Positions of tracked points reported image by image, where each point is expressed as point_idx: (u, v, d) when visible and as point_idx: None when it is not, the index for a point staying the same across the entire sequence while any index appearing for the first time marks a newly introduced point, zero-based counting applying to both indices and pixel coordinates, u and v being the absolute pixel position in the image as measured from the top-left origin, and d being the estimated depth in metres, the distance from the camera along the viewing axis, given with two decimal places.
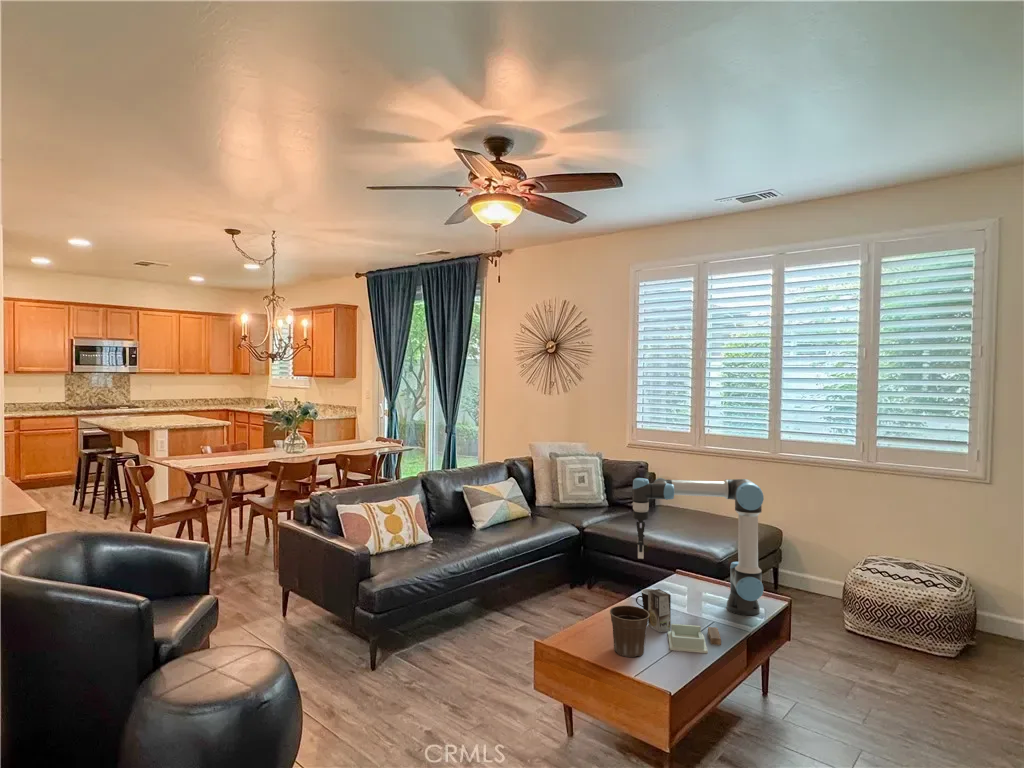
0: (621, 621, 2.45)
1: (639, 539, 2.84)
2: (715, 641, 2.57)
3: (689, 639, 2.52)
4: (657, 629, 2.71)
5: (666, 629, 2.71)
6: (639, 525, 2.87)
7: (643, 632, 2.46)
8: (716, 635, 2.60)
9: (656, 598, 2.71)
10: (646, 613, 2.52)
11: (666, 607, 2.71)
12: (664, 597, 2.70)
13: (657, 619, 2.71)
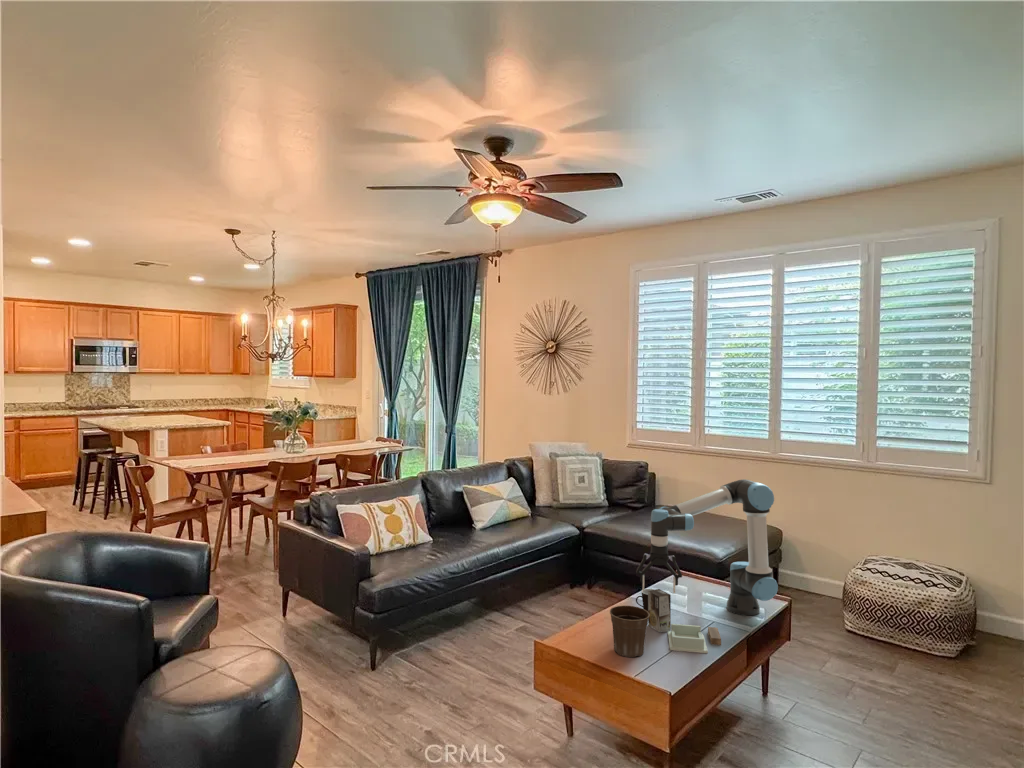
0: (621, 621, 2.45)
1: None
2: (715, 641, 2.57)
3: (689, 639, 2.52)
4: (657, 629, 2.71)
5: (666, 629, 2.71)
6: None
7: (643, 632, 2.46)
8: (716, 635, 2.60)
9: (656, 598, 2.71)
10: (646, 613, 2.52)
11: (666, 607, 2.71)
12: (664, 597, 2.70)
13: (657, 619, 2.71)
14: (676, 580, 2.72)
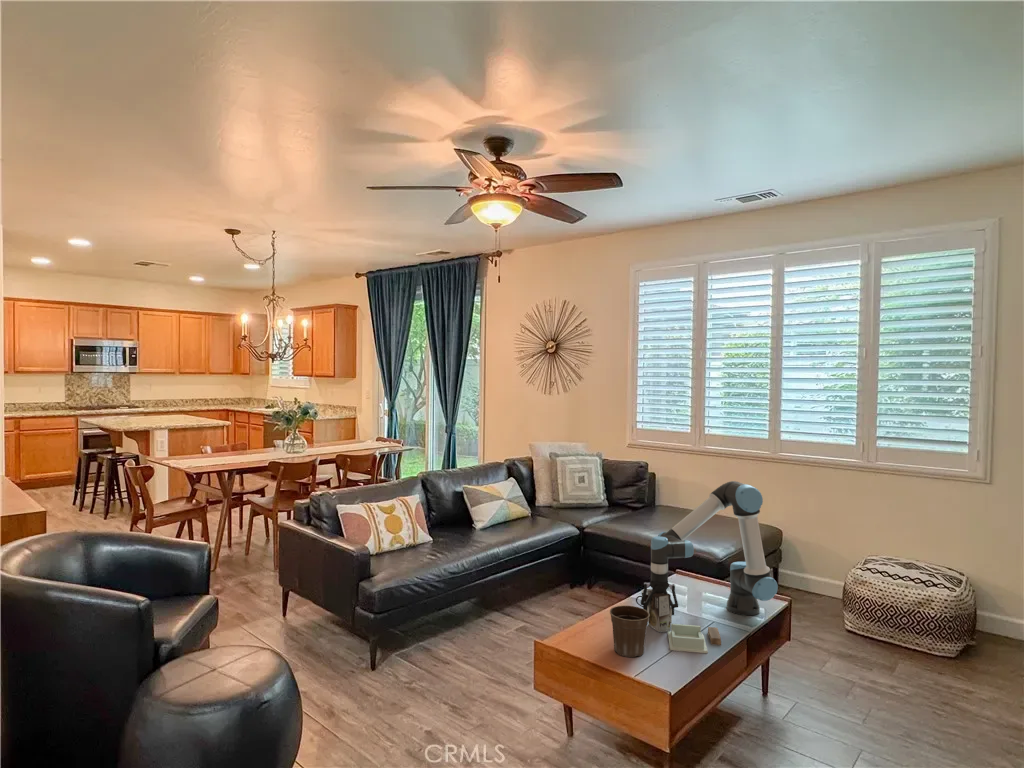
0: (621, 621, 2.45)
1: (641, 598, 2.77)
2: (715, 641, 2.57)
3: (689, 639, 2.52)
4: (657, 629, 2.71)
5: (666, 629, 2.71)
6: (644, 584, 2.76)
7: (643, 632, 2.46)
8: (716, 635, 2.60)
9: (656, 598, 2.71)
10: (646, 613, 2.52)
11: (666, 607, 2.71)
12: (664, 597, 2.70)
13: (657, 619, 2.71)
14: (672, 610, 2.73)
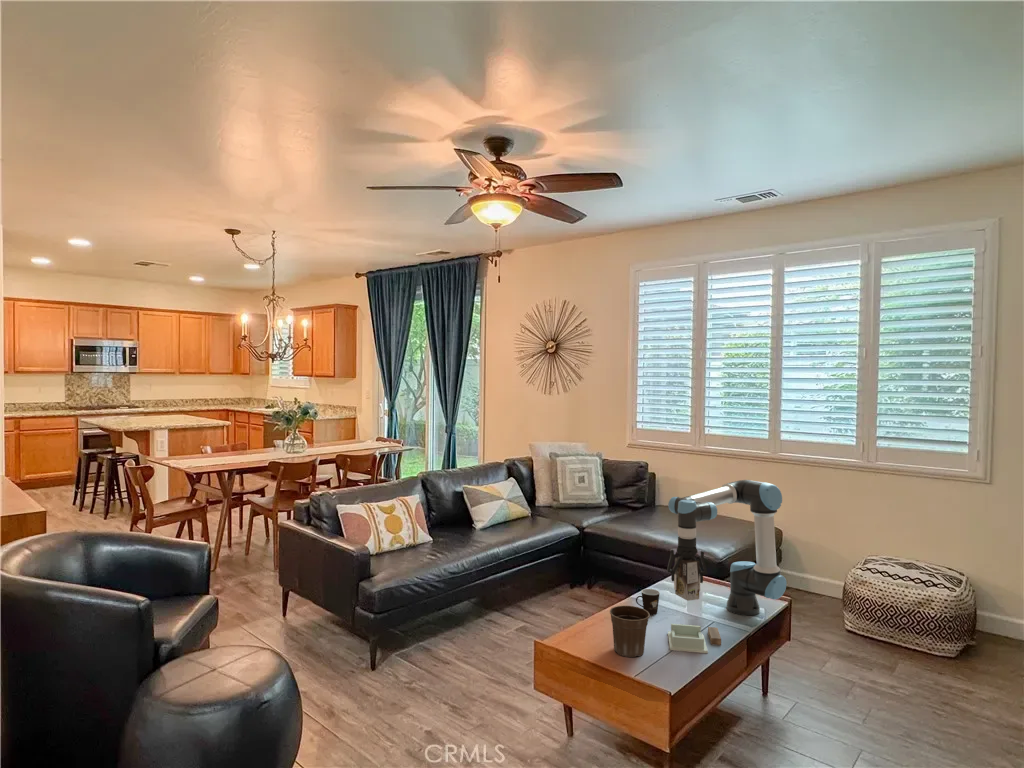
0: (621, 621, 2.45)
1: (668, 565, 2.61)
2: (715, 641, 2.57)
3: (689, 639, 2.52)
4: (685, 597, 2.55)
5: (695, 597, 2.55)
6: None
7: (643, 632, 2.46)
8: (716, 635, 2.60)
9: (684, 564, 2.55)
10: (646, 613, 2.52)
11: (695, 574, 2.55)
12: (692, 563, 2.54)
13: (685, 587, 2.55)
14: (701, 577, 2.57)
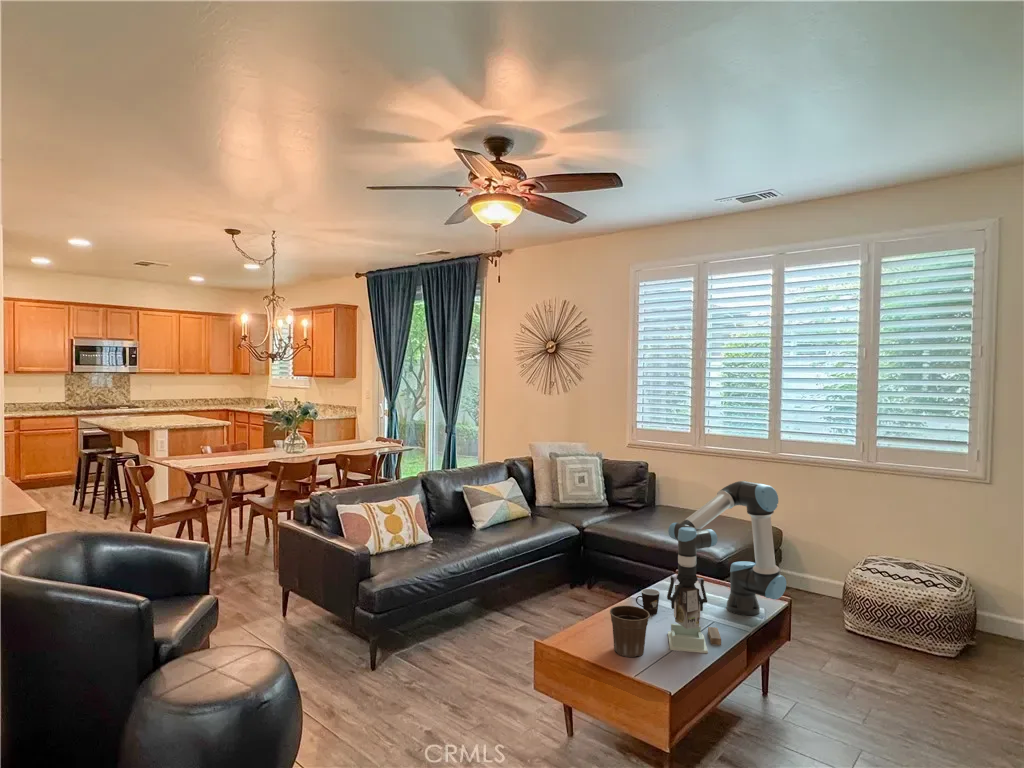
0: (621, 621, 2.45)
1: None
2: (715, 641, 2.57)
3: (689, 639, 2.52)
4: (685, 625, 2.55)
5: (694, 626, 2.54)
6: None
7: (643, 632, 2.46)
8: (716, 635, 2.60)
9: (684, 592, 2.55)
10: (646, 613, 2.52)
11: (695, 602, 2.55)
12: (692, 591, 2.54)
13: (685, 615, 2.55)
14: (701, 605, 2.57)
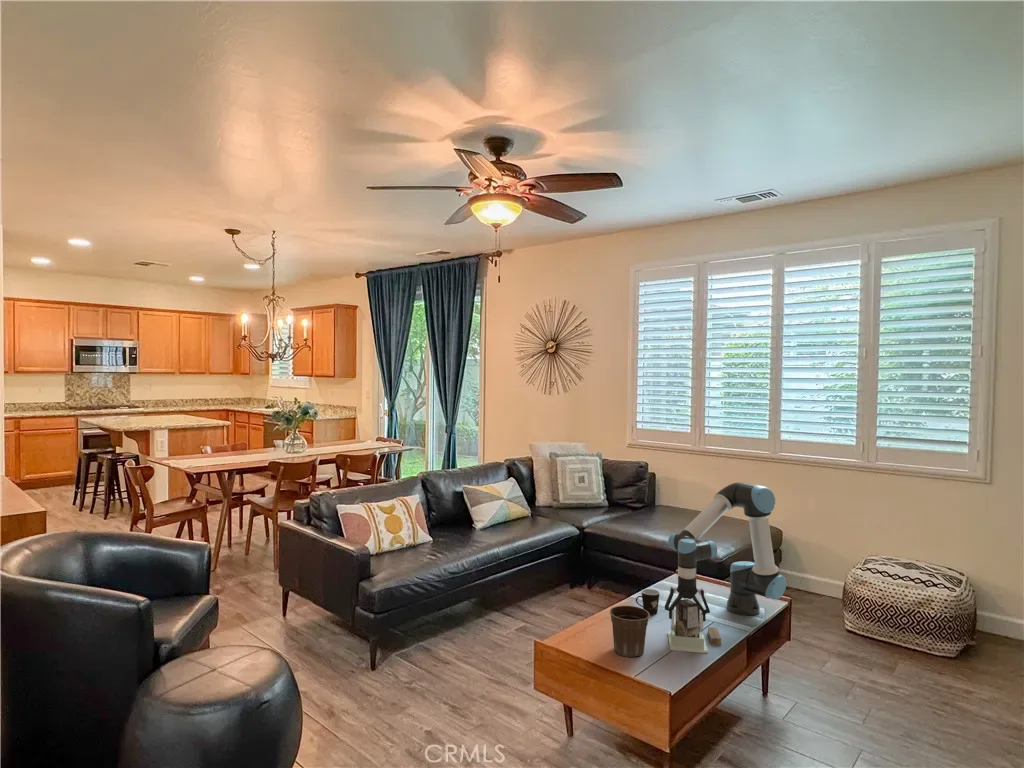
0: (621, 621, 2.45)
1: (666, 603, 2.61)
2: (715, 641, 2.57)
3: (689, 639, 2.52)
4: None
5: None
6: (670, 589, 2.61)
7: (643, 632, 2.46)
8: (716, 635, 2.60)
9: (684, 608, 2.55)
10: (646, 613, 2.52)
11: (695, 619, 2.55)
12: (693, 608, 2.54)
13: (685, 631, 2.55)
14: (703, 616, 2.57)
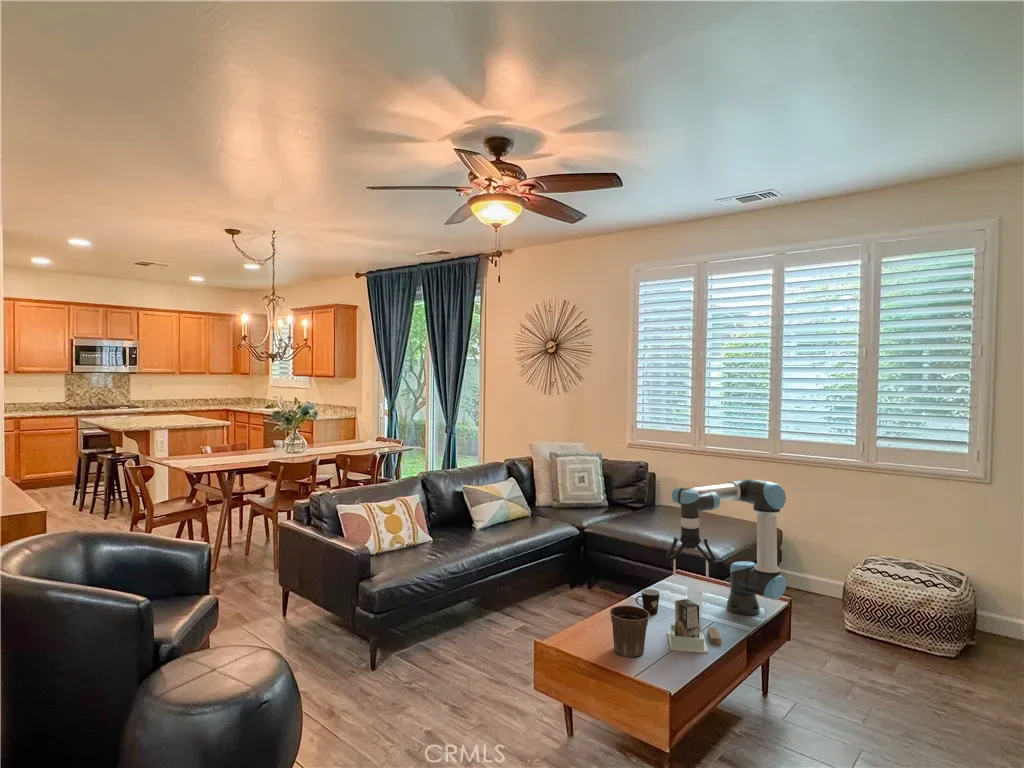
0: (621, 621, 2.45)
1: (668, 552, 2.63)
2: (715, 641, 2.57)
3: (689, 639, 2.52)
4: None
5: None
6: None
7: (643, 632, 2.46)
8: (716, 635, 2.60)
9: (684, 609, 2.55)
10: (646, 613, 2.52)
11: (695, 619, 2.55)
12: (692, 608, 2.54)
13: (685, 631, 2.55)
14: (709, 564, 2.59)
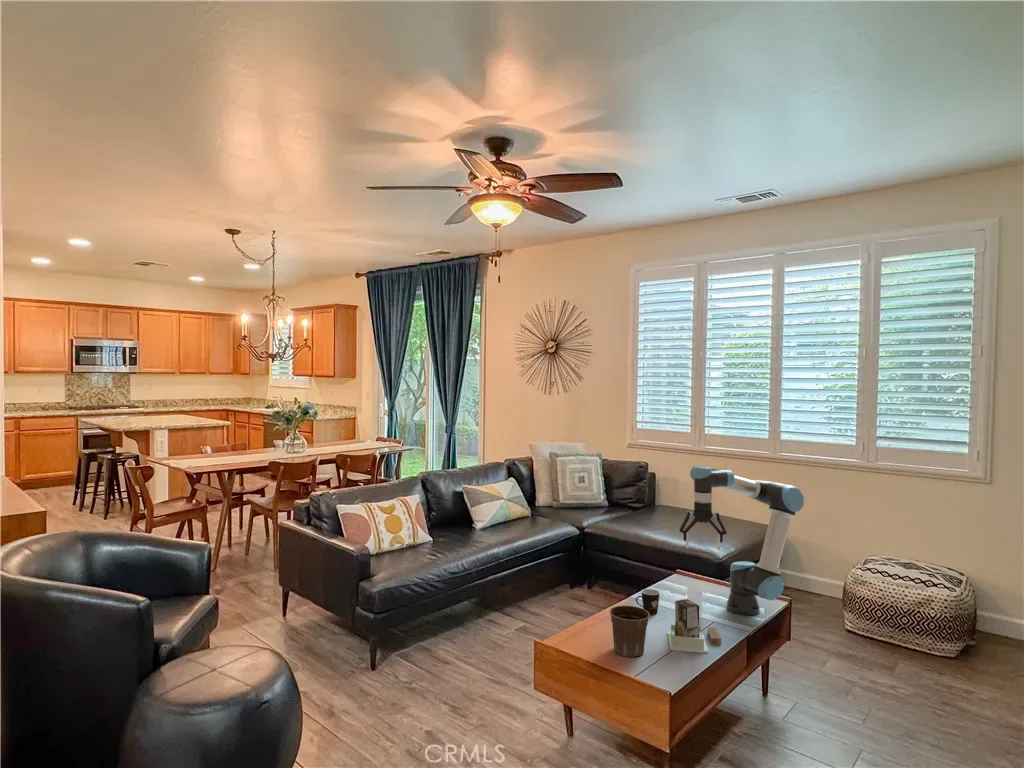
0: (621, 621, 2.45)
1: (681, 526, 2.74)
2: (715, 641, 2.57)
3: (689, 639, 2.52)
4: None
5: None
6: None
7: (643, 632, 2.46)
8: (716, 635, 2.60)
9: (684, 609, 2.55)
10: (646, 613, 2.52)
11: (695, 619, 2.55)
12: (692, 608, 2.54)
13: (685, 631, 2.55)
14: (721, 537, 2.69)
